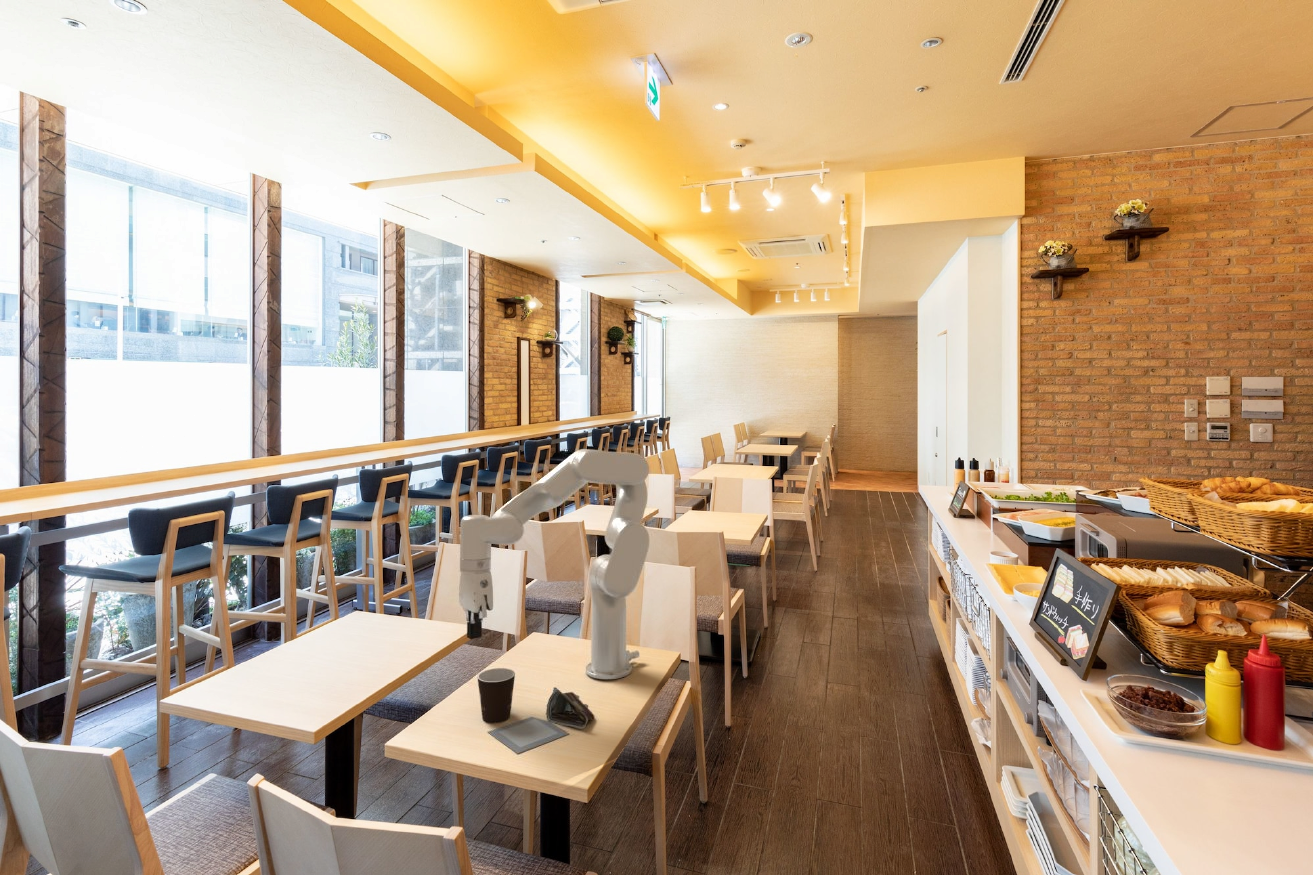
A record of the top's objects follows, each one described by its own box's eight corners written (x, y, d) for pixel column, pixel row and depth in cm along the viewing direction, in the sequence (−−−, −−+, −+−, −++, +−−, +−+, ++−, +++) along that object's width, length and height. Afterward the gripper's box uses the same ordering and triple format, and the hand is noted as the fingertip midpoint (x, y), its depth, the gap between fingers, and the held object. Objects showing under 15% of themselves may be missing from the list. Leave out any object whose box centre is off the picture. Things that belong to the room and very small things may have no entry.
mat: (537, 714, 151) (537, 714, 151) (569, 734, 142) (569, 733, 142) (487, 732, 142) (487, 731, 142) (517, 754, 133) (517, 753, 133)
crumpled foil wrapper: (607, 718, 148) (582, 675, 154) (589, 722, 142) (564, 676, 148) (580, 744, 149) (557, 700, 156) (562, 749, 144) (538, 702, 150)
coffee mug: (505, 727, 145) (505, 683, 145) (470, 723, 147) (470, 680, 147) (526, 705, 156) (526, 665, 156) (493, 702, 158) (493, 662, 158)
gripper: (503, 567, 157) (502, 641, 157) (475, 558, 168) (474, 627, 168) (475, 571, 152) (474, 648, 152) (448, 561, 163) (447, 633, 163)
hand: (474, 637), depth 160 cm, fingers closed
